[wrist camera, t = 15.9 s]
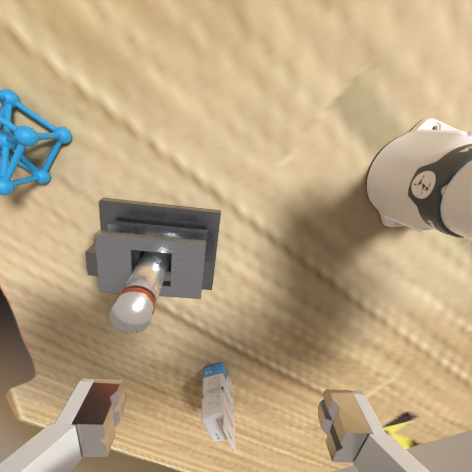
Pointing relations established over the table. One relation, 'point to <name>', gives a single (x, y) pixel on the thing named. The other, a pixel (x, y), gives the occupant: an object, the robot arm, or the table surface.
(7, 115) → the molecular structure
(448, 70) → the table surface
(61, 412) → the robot arm
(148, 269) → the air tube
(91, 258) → the collar stand
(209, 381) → the ink box
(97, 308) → the table surface
